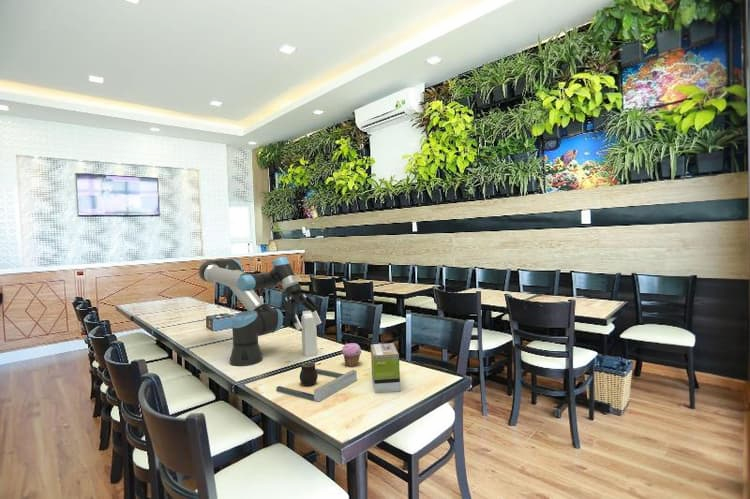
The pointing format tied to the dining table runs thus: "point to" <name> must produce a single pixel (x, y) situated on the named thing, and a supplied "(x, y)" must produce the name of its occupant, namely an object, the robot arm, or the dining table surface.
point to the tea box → (385, 368)
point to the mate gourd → (308, 373)
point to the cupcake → (351, 353)
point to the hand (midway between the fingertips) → (309, 326)
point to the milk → (308, 334)
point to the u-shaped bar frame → (325, 389)
